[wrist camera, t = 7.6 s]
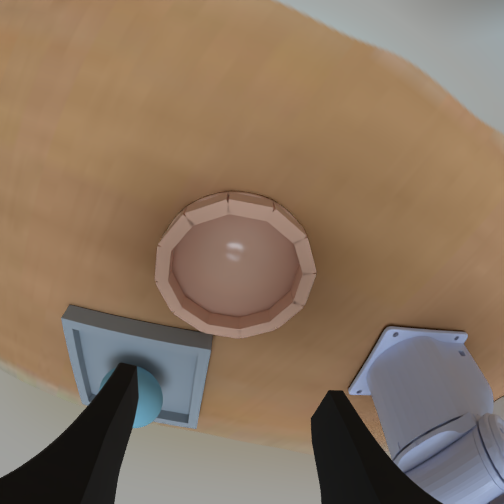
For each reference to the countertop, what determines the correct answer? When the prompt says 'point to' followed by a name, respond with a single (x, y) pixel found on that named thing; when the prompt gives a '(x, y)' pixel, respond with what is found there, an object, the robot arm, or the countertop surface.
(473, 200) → the countertop surface
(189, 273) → the dish
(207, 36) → the countertop surface
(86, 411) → the robot arm
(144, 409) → the ball
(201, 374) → the tray
